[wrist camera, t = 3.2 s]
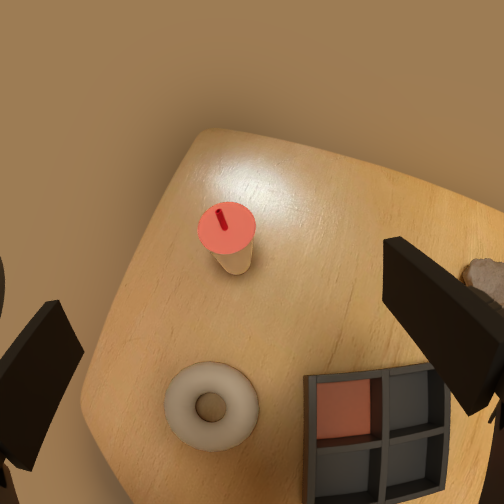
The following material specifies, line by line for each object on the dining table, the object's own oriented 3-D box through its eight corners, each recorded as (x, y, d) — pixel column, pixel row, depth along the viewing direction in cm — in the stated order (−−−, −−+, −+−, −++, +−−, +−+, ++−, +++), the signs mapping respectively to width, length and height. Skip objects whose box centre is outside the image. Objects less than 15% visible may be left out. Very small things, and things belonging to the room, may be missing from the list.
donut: (272, 433, 30) (242, 350, 33) (272, 440, 26) (239, 348, 30) (185, 455, 29) (158, 374, 32) (177, 463, 26) (147, 374, 29)
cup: (204, 260, 37) (178, 210, 26) (238, 231, 39) (225, 173, 27) (234, 292, 36) (216, 252, 25) (269, 262, 37) (267, 211, 26)
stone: (504, 265, 34) (527, 250, 29) (511, 320, 31) (537, 310, 26) (455, 264, 35) (477, 247, 30) (461, 324, 32) (487, 314, 27)
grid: (301, 502, 26) (305, 517, 22) (303, 375, 32) (308, 375, 27) (427, 480, 25) (444, 489, 21) (430, 361, 31) (449, 358, 27)
